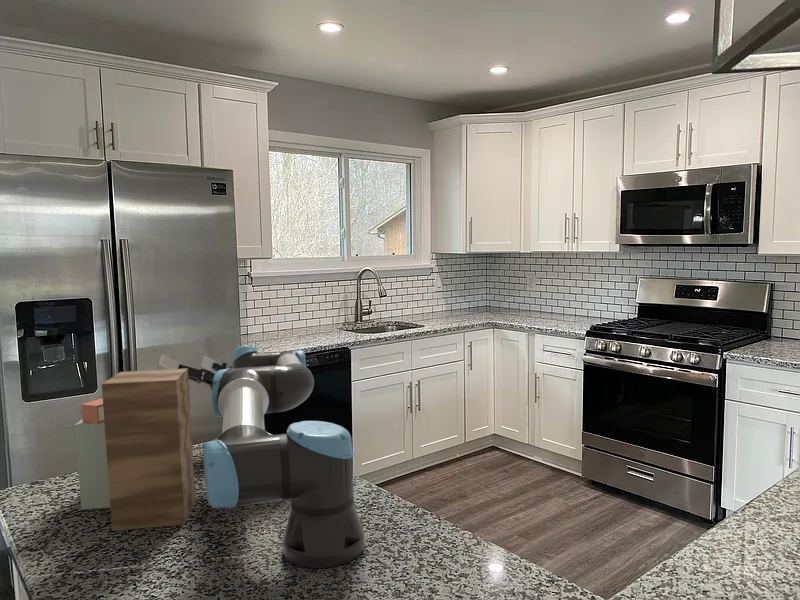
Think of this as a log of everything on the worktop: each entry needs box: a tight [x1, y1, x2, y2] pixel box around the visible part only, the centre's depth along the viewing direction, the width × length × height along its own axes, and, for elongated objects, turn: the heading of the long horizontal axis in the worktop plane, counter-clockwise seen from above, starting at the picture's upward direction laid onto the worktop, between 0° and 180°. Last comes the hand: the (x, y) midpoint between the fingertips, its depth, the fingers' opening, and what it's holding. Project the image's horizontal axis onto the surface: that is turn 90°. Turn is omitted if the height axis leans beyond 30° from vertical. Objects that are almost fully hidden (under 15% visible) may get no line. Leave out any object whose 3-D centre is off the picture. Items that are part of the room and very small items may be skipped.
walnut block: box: [101, 368, 196, 532], centre depth 126 cm, size 12×14×30 cm
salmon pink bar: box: [80, 397, 104, 424], centre depth 140 cm, size 22×4×4 cm, turn 159°
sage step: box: [74, 419, 110, 511], centre depth 138 cm, size 14×12×19 cm
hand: (182, 359), depth 154 cm, fingers open, 13 cm apart
